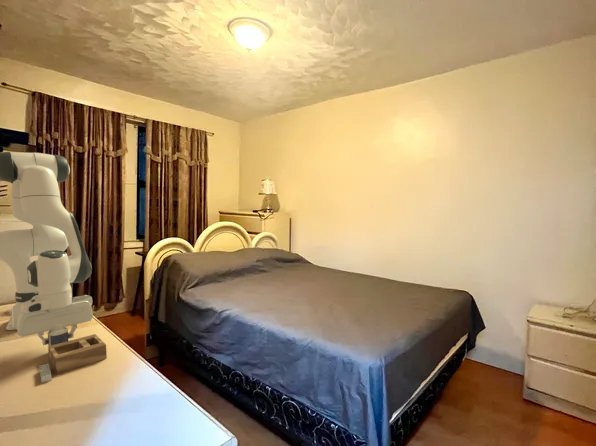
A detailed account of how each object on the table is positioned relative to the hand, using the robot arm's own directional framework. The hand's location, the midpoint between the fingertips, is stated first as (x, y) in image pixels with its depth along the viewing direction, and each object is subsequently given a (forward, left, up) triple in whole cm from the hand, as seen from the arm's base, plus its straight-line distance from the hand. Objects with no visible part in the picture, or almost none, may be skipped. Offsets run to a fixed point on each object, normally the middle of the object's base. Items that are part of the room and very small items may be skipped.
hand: (58, 340), depth 109 cm
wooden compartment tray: (+11, +3, -4) cm, 12 cm away
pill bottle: (0, 0, -4) cm, 4 cm away
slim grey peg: (+16, -6, -4) cm, 18 cm away
